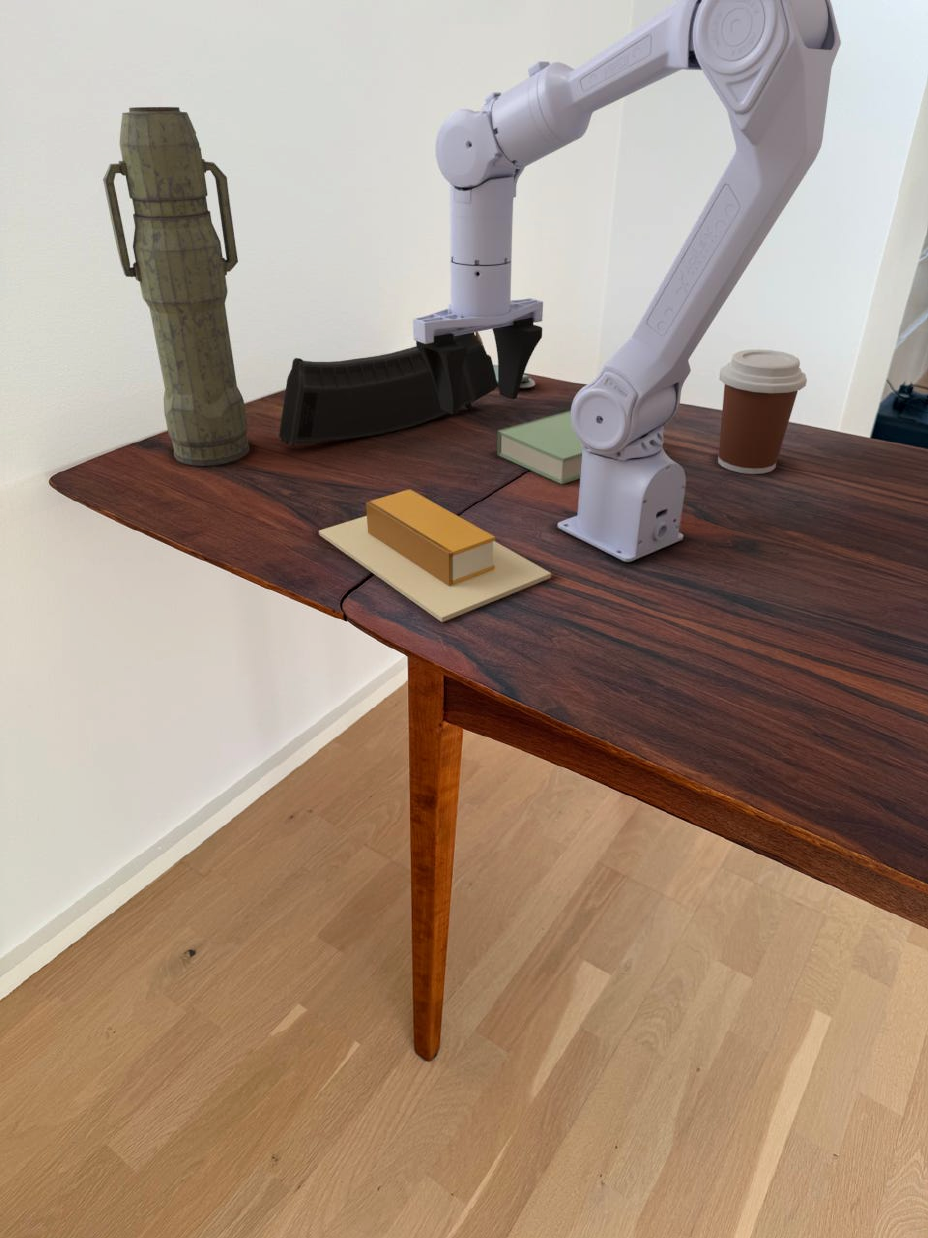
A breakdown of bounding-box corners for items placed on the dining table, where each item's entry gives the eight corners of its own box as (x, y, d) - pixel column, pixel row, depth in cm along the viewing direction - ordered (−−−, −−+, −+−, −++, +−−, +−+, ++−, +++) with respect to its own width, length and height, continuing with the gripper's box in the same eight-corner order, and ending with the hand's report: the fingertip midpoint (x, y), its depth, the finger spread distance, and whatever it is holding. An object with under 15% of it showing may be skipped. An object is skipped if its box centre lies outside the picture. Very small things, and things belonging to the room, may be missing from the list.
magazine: (262, 383, 93) (473, 270, 103) (250, 376, 96) (457, 266, 105) (317, 508, 105) (502, 396, 114) (305, 499, 107) (487, 390, 116)
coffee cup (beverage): (689, 461, 98) (705, 356, 92) (735, 442, 103) (753, 342, 97) (758, 485, 92) (780, 374, 86) (803, 464, 97) (827, 358, 91)
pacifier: (511, 377, 127) (480, 383, 123) (513, 333, 123) (481, 339, 120) (544, 388, 122) (513, 395, 119) (548, 344, 119) (515, 349, 115)
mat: (551, 577, 75) (551, 573, 75) (442, 622, 69) (441, 617, 68) (420, 503, 88) (420, 498, 88) (319, 535, 82) (318, 530, 82)
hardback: (593, 426, 108) (595, 402, 106) (660, 451, 101) (663, 426, 99) (496, 454, 100) (497, 430, 98) (562, 484, 92) (563, 458, 91)
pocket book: (367, 532, 81) (365, 502, 80) (411, 518, 84) (409, 488, 82) (449, 586, 73) (448, 553, 71) (494, 569, 75) (495, 536, 74)
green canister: (273, 454, 100) (228, 107, 81) (171, 474, 95) (98, 109, 76) (250, 432, 106) (204, 105, 88) (153, 448, 101) (83, 107, 83)
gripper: (512, 247, 85) (508, 381, 93) (392, 262, 78) (398, 407, 85) (560, 256, 81) (552, 397, 88) (437, 274, 73) (440, 426, 80)
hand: (479, 403), depth 86 cm, fingers open, 7 cm apart
